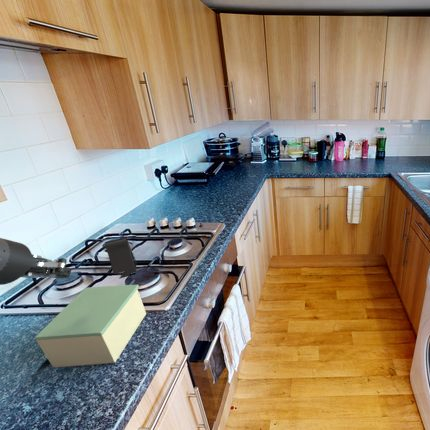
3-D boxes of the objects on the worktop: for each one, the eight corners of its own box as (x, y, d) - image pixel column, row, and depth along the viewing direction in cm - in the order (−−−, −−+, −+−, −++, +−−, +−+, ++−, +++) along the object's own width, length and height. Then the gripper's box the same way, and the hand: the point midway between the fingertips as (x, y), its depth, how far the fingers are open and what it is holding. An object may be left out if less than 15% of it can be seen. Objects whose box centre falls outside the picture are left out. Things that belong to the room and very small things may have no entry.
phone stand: (136, 274, 97) (125, 243, 92) (115, 279, 95) (103, 249, 90) (136, 261, 104) (126, 232, 99) (116, 266, 102) (105, 236, 97)
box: (96, 317, 80) (84, 292, 76) (146, 313, 81) (137, 289, 77) (53, 367, 66) (36, 340, 62) (115, 362, 67) (102, 335, 63)
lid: (86, 290, 77) (85, 287, 76) (139, 286, 78) (138, 284, 77) (36, 340, 62) (34, 337, 62) (102, 335, 63) (100, 332, 63)
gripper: (32, 234, 48) (101, 255, 64) (-54, 238, 47) (38, 258, 63) (19, 279, 45) (95, 289, 62) (-72, 284, 44) (29, 293, 61)
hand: (66, 273), depth 62 cm, fingers closed
